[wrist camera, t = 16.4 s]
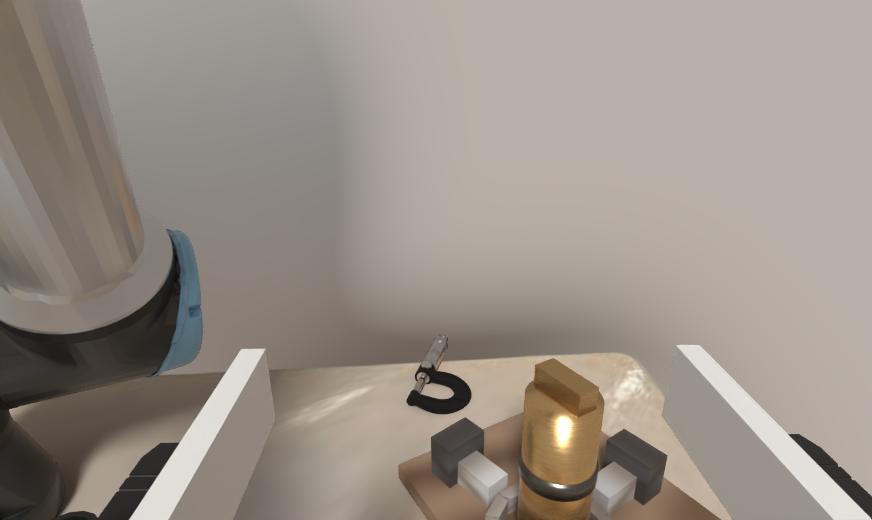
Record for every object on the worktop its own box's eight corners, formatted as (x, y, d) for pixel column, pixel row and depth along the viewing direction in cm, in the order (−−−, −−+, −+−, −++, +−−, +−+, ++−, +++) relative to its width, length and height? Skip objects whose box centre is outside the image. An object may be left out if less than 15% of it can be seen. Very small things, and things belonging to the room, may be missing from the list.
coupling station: (399, 477, 45) (397, 429, 43) (555, 410, 54) (559, 367, 52) (553, 701, 29) (560, 639, 27) (740, 551, 38) (755, 497, 36)
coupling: (499, 534, 38) (507, 368, 33) (551, 505, 40) (566, 346, 35) (547, 593, 33) (565, 411, 28) (602, 556, 36) (628, 383, 31)
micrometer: (463, 421, 53) (464, 401, 52) (400, 411, 55) (399, 391, 54) (487, 351, 66) (487, 334, 66) (435, 344, 68) (435, 327, 67)
